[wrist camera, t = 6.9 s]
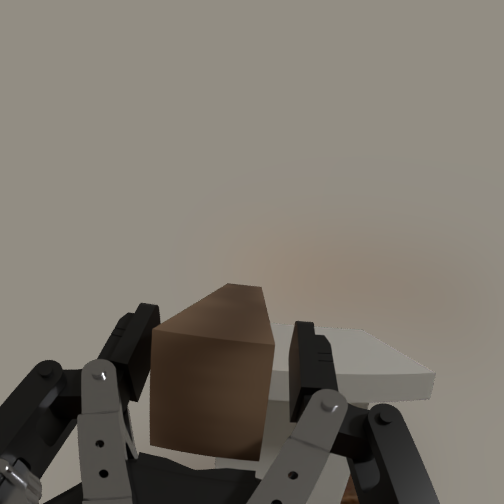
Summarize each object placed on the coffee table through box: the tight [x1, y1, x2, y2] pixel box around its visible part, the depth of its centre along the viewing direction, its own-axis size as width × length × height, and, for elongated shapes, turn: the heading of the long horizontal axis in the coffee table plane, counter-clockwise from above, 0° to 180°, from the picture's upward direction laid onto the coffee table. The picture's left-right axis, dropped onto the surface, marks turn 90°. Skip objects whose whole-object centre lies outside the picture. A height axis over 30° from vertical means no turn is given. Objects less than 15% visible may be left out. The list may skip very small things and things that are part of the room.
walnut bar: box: [150, 284, 275, 461], centre depth 21 cm, size 4×25×4 cm, turn 179°
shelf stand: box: [215, 323, 436, 504], centre depth 26 cm, size 18×17×30 cm
